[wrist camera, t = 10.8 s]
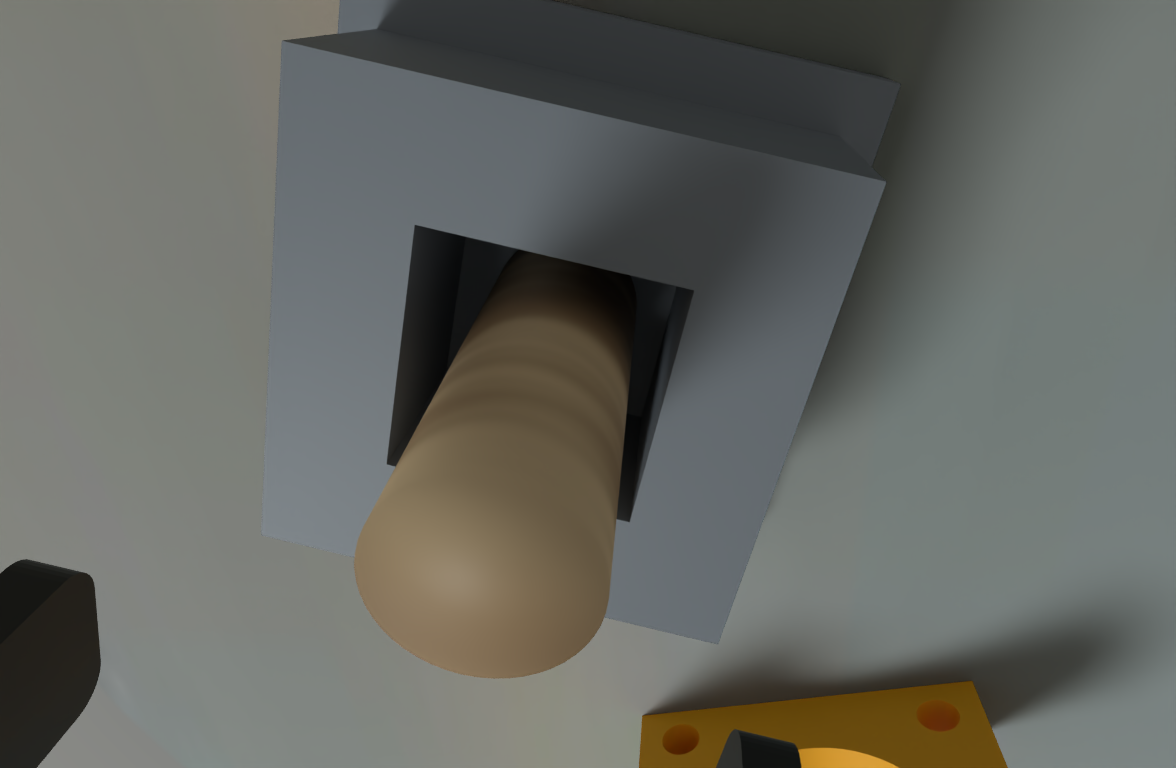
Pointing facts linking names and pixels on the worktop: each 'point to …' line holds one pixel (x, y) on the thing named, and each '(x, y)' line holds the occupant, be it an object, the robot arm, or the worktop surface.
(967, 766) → the pipe clamp
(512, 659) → the oak peg
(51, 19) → the worktop surface
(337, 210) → the socket block
